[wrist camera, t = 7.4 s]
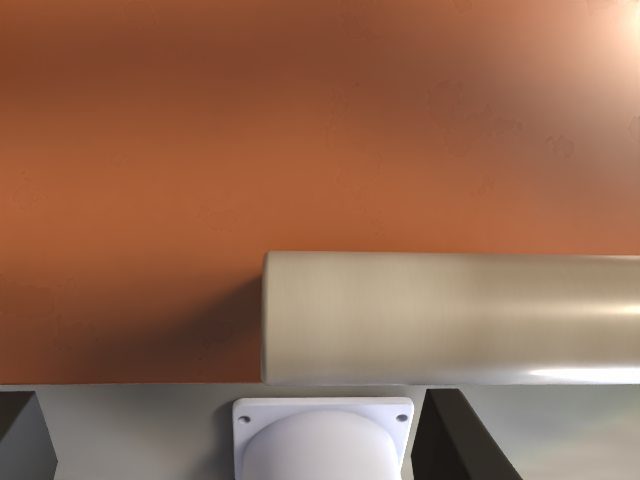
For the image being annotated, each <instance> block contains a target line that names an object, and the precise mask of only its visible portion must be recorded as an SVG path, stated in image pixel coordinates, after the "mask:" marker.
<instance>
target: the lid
mask: <svg viewBox="0 0 640 480" xmlns="http://www.w3.org/2000/svg"><path fill="white" fill-rule="evenodd" d="M235 383H263V384H264V385H267V386H353V385H523V384H640V0H0V385H54V384H235Z"/></svg>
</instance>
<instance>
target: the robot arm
mask: <svg viewBox="0 0 640 480" xmlns="http://www.w3.org/2000/svg"><path fill="white" fill-rule="evenodd" d="M413 412H414V406H413V402H412V400H411V399H409V398H407V397H320V398H241V399H238V400H236V401H235V402H234V403H233V410H232V415H233V440H234V465H235V480H401V476H400V469H401V464H402V460H403V456H404V451H405V447H406V443H407V438H408V434H409V429H410V425H411V421H412V416H413ZM401 414H402V415H401ZM244 416H245V417H244ZM411 461H412V468H413V475H414V480H523V479H522V478H521V476H520V475H519V474H518V472H517V471H516V470H515V468H514V467H513V466H512V464H511V463H510V462H509V460H508V459H507V457H506V456H505V455H504V453H503V452H502V450H501V449H500V448H499V446H498V445H497V443H496V442H495V441H494V439H493V438H492V436H491V435H490V433H489V432H488V431H487V429H486V428H485V426H484V425H483V423H482V422H481V420H480V419H479V417H478V416H477V414H476V413H475V411H474V410H473V408H472V407H471V405H470V404H469V402H468V401H467V399H466V398H465V396H464V395H463V393H462V392H461V391H460V390H459V389H427V390H426V394H425V398H424V402H423V407H422V411H421V415H420V419H419V423H418V427H417V432H416V436H415V440H414V444H413V448H412V453H411ZM57 463H58V460H57V457H56V454H55V451H54V448H53V445H52V441H51V438H50V435H49V432H48V429H47V426H46V423H45V420H44V417H43V413H42V410H41V407H40V404H39V401H38V398H37V395H36V392H35V391H16V392H0V480H53V479H54V475H55V471H56V467H57Z"/></svg>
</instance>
